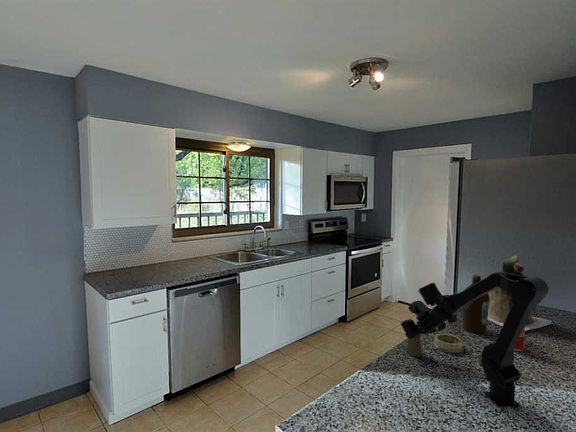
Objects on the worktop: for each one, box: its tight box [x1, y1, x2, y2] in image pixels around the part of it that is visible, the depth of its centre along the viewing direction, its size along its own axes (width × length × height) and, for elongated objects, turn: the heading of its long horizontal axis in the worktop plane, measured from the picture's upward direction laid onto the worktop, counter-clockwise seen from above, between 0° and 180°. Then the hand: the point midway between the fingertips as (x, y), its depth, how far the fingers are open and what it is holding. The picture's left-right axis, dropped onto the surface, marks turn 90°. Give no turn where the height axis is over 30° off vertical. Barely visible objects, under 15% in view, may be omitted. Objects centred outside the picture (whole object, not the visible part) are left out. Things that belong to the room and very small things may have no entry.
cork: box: [404, 323, 423, 357], centre depth 127 cm, size 6×6×11 cm
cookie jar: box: [487, 254, 552, 332], centre depth 160 cm, size 25×25×32 cm
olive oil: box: [462, 274, 490, 335], centre depth 149 cm, size 11×11×25 cm
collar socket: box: [432, 333, 464, 355], centre depth 132 cm, size 11×11×3 cm
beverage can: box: [513, 325, 526, 352], centre depth 131 cm, size 6×6×12 cm
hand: (410, 334), depth 129 cm, fingers closed on cork, 5 cm apart
